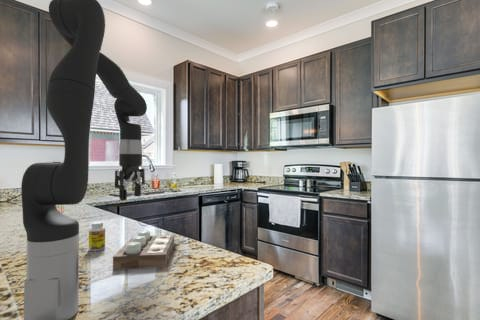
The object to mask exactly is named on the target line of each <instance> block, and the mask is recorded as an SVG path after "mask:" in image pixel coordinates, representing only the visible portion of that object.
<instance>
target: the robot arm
mask: <svg viewBox="0 0 480 320" xmlns="http://www.w3.org/2000/svg"><path fill="white" fill-rule="evenodd" d="M48 13H49V18H50V20H51V22H52V24H53V26H54V27H55V29H56V31H58V33H59V35H61V36H62V38H63V39H64V40H65V41H66V42H67V43H68V44H69V46H71V47H70V49H69V50H68V52H67V53H66V54H64V56H63V57H62V58H61V60H60V61H59V62H58V63H57V65H56V66H55V67H54V69H53V70H52V71H51V74H50V76H49V78H48V79H49V80H48V84H47V92H46V98H45V103H46V107H47V110H48V112H49V115H50V117H51V119H52V120H53V121H54V124H55V125H56V127H57V128H58V130H59V132H60V133H61V136H62V138H63V142H64V157H63V158H64V159H63V162H36V163H33V164H30V165H29V166H28V167H27V168H26V170H25V171H24V173H23V175H22V178H21V179H22V180H21V184H20V185H21V189H20V190H21V191H20V193H21V195H20V196H21V208H22V223H23V228H24V230H25V233H26V281H24V284H23V287H24V288H23V320H70V319H71V318H73V317H75V315H77V314H78V312H79V298H80V297H79V287H80V285H79V283H80V282H79V275H80V271H79V270H80V268H79V267H80V264H79V263H80V260H79V259H80V258H79V257H80V247H79V246H80V224H79V221H78V220H76V219H75V218H72V217H70V216H67V215H65V214H63V213H62V212H60V211H59V210H58V208H57V206H66V205H68V206H70V205H77V204H80V203H82V201H83V199H84V198H85V197H86V193H87V190H88V185H89V163H90V162H89V161H90V159H89V157H90V156H89V155H90V153H89V152H90V151H89V149H90V147H89V146H90V131H91V123H92V115H93V109H94V101H95V92H96V79H97V77H98V78H99V80H100V81H101V83H102V84H103V86H104V87H105V89H106V90H107V91H108V93H109V94H110V96H111V97H112V98H114V99H115V101H114V104H113V105H114V106H113V107H114V113H115V115H116V119H117V123H118V127H119V144H118V155H119V157H118V161H119V162H118V165H119V166H120V167H122V168H121V169H116V170H114V171H115V172H114V188H115V189H118V190H119V201H127V199H128V195H127V193H128V189H127V188H128V186H129V185H130V184H131V183H133V185H134V191H133V192H134V197H141V195H142V186H143V185H145V183H146V177H145V175H146V173H145V168H143V167H141V166H142V165H143V145H142V126H141V124H139V123H135V122H132V121H131V120H130V117H143V116H144V115H145V114H146V112H147V108H148V107H147V106H148V105H147V102H146V99H144V97H143V96H142V95H141V94H140V92H138V91H137V90H136V88H134V87H133V85H131V83H130V82H129V80H128V77H127V76H126V75H125V72H124V71H123V69H121V67H120V66H119V65H118V64H117V63H116V62H115V61H113V60H112V59H111V58H109V57H108V56H107V55H106V54H104V53H103V51H101V50H102V46H103V41H104V37H105V33H106V18H105V17H106V16H105V13H104V9H103V7H102V5H101V3H100V2H99V1H98V0H51V1H50V2H49V5H48Z"/></svg>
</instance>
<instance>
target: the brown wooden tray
mask: <svg viewBox="0 0 480 320" xmlns="http://www.w3.org/2000/svg"><path fill="white" fill-rule="evenodd" d="M136 236H137V235H136ZM136 236H135V235H133V236H132V237H131V238H130V239H129V240H128V241H127V242H126V243H125V244H124V245H123V246H122V247H121V248H120V249H119V250H118V251H117V252H116V253H115V254H114V255H113V256H112V270H113V271H114V270H132V269H134V270H135V269H152V268H166V267H167V264H168V262H169V260H170V257H171V255H172V252H173V251H174V250H173V249H174V247H175V235H174V234H166V235H165V234H164V235H161V234H160V235H150V241H146V246H145V247H141V253H140V254H132V255H126V244H128V243H131V242H132V238H133V237H136Z"/></svg>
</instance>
